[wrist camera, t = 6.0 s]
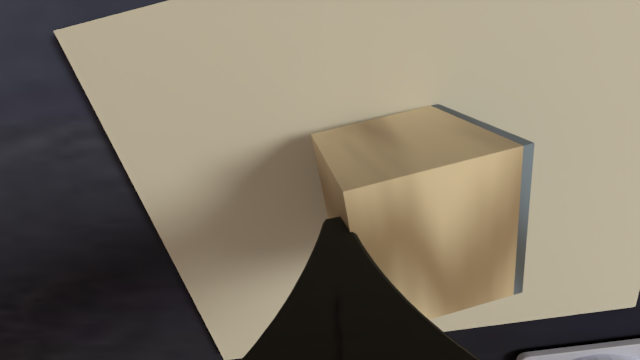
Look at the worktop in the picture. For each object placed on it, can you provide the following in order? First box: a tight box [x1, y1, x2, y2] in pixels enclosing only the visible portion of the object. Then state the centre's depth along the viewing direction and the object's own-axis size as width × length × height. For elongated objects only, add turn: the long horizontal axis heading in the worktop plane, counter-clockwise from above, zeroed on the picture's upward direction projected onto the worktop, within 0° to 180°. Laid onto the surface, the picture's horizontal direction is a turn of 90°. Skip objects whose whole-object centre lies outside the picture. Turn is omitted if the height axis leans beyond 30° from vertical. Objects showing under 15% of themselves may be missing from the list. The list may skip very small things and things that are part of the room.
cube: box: [311, 104, 534, 320], centre depth 12 cm, size 5×5×5 cm
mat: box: [54, 0, 640, 360], centre depth 15 cm, size 18×22×1 cm
